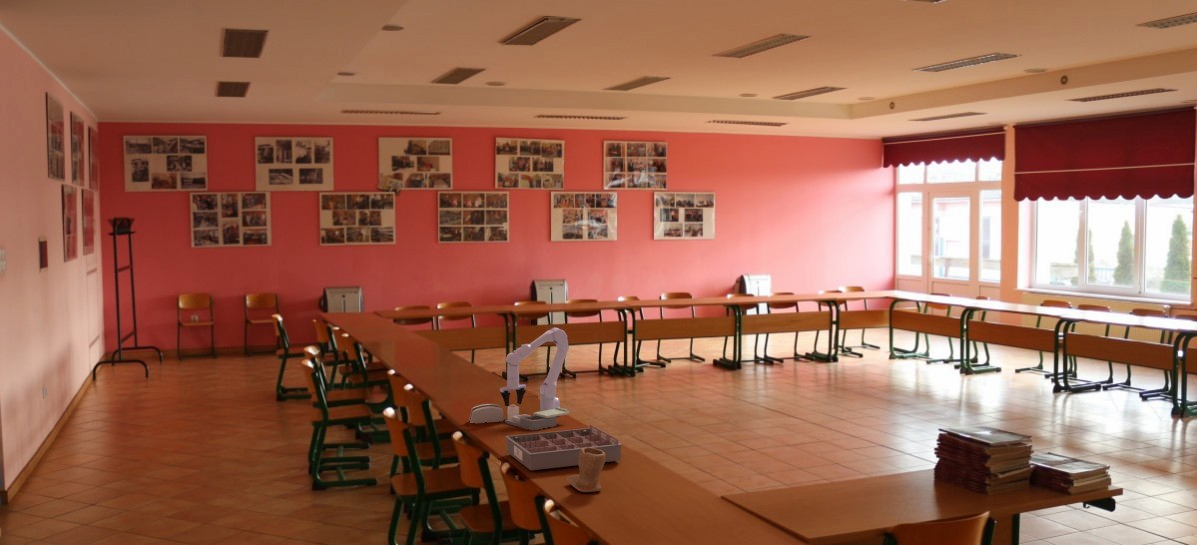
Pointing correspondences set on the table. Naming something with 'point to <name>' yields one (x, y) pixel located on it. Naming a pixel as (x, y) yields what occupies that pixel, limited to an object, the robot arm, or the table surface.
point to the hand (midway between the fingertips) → (513, 404)
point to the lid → (552, 412)
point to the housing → (531, 422)
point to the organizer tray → (561, 447)
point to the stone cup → (588, 470)
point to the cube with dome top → (513, 411)
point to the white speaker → (486, 413)
